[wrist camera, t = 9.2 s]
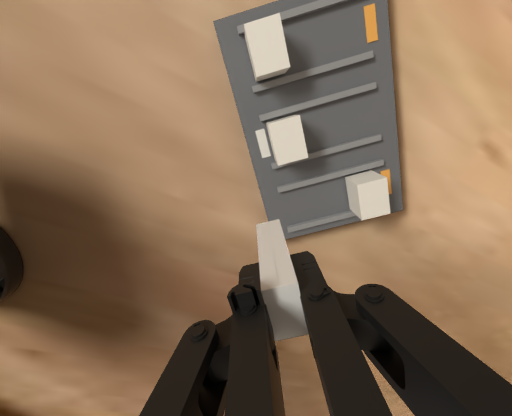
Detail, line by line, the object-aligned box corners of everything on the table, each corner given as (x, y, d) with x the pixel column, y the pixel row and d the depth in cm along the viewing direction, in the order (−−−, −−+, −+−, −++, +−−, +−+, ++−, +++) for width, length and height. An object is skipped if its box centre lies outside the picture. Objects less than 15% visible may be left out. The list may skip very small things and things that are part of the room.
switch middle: (274, 159, 28) (278, 165, 25) (265, 122, 27) (267, 124, 23) (301, 152, 28) (308, 157, 25) (293, 114, 26) (299, 114, 23)
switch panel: (272, 233, 34) (274, 244, 31) (216, 29, 26) (212, 19, 23) (392, 203, 33) (405, 211, 30) (372, -20, 25) (388, -38, 22)
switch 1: (255, 81, 25) (256, 77, 22) (244, 36, 24) (243, 23, 21) (285, 73, 25) (290, 66, 22) (275, 26, 24) (279, 12, 20)
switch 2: (349, 209, 30) (361, 220, 27) (344, 177, 29) (357, 185, 26) (375, 202, 30) (390, 213, 27) (371, 170, 29) (387, 177, 25)
